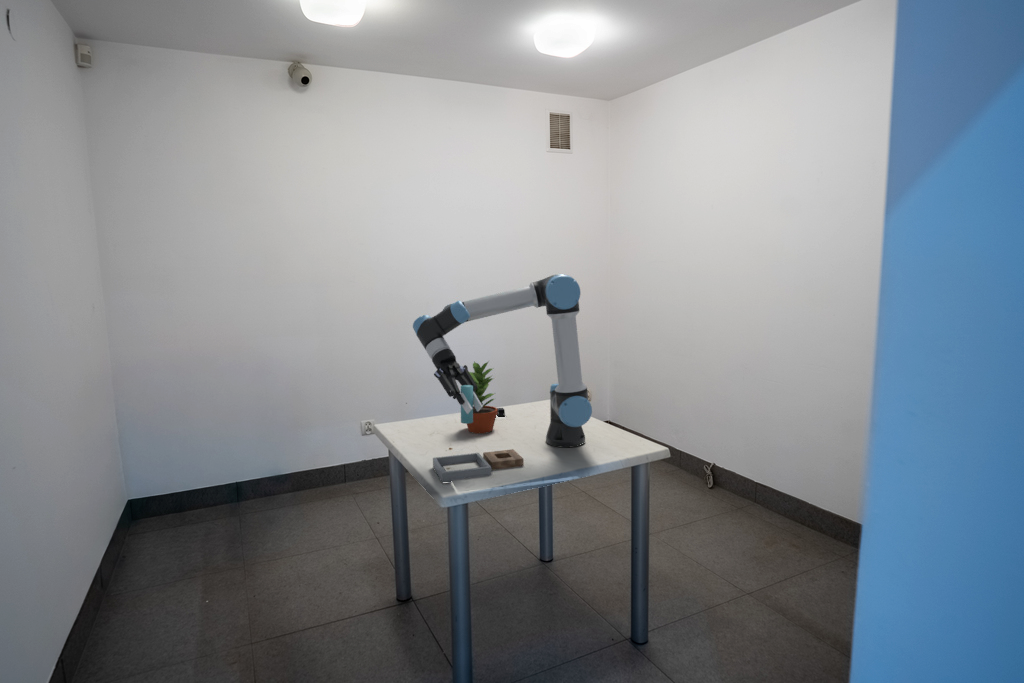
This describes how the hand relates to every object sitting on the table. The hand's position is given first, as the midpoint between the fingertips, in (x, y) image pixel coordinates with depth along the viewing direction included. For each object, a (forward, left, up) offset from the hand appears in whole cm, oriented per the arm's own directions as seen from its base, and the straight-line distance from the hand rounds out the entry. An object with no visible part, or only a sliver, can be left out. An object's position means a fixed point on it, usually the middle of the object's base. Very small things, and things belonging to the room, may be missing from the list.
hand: (474, 410), depth 183 cm
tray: (+4, -2, -21) cm, 22 cm away
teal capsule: (+2, -3, -5) cm, 6 cm away
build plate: (-29, -68, -22) cm, 78 cm away
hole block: (-11, -4, -21) cm, 24 cm away
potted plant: (-15, -50, -21) cm, 57 cm away
